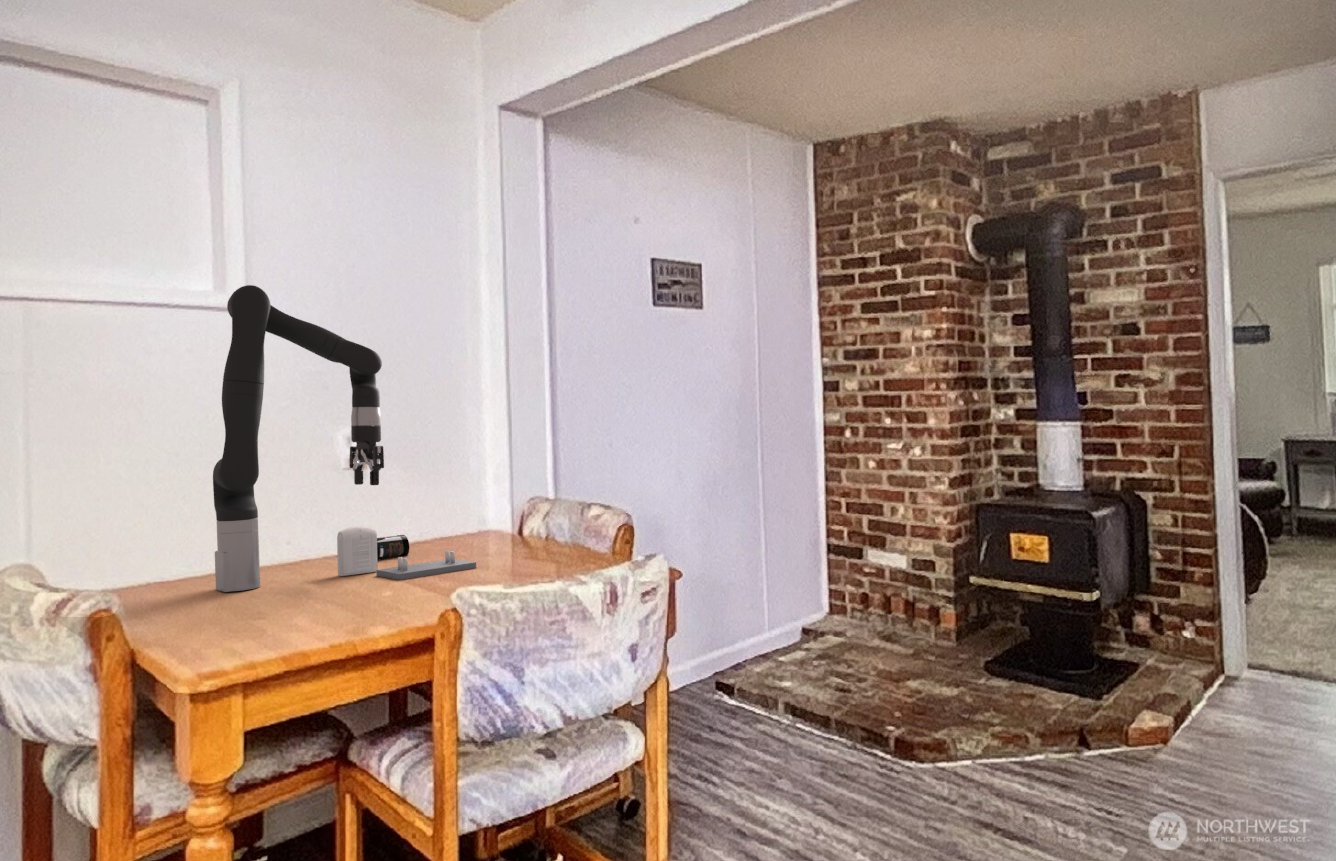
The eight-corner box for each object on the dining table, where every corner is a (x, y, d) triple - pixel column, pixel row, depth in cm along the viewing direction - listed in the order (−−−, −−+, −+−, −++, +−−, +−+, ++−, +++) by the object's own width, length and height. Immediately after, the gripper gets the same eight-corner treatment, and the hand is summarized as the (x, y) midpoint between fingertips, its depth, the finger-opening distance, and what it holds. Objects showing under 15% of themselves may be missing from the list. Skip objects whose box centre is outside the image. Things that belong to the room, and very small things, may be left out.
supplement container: (363, 556, 252) (396, 552, 260) (374, 565, 248) (407, 561, 255) (366, 535, 251) (399, 531, 258) (377, 544, 246) (410, 539, 254)
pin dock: (476, 567, 230) (475, 550, 230) (400, 580, 214) (399, 561, 214) (451, 564, 238) (451, 548, 238) (376, 575, 222) (375, 558, 222)
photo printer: (373, 570, 232) (371, 524, 232) (380, 572, 229) (378, 525, 229) (335, 575, 225) (333, 528, 225) (342, 577, 222) (340, 529, 222)
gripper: (340, 425, 235) (340, 485, 235) (366, 423, 225) (366, 486, 225) (366, 425, 241) (366, 484, 240) (392, 423, 231) (393, 484, 231)
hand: (366, 484), depth 233 cm, fingers open, 8 cm apart
